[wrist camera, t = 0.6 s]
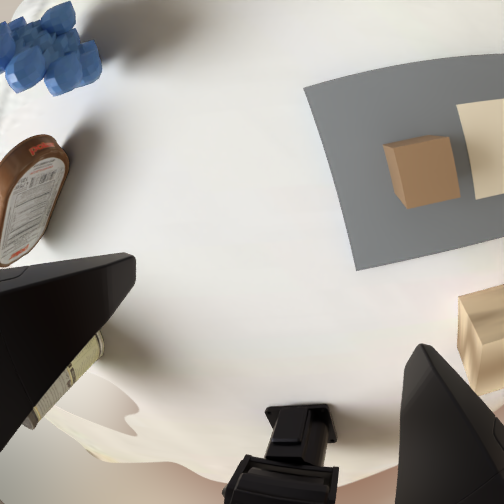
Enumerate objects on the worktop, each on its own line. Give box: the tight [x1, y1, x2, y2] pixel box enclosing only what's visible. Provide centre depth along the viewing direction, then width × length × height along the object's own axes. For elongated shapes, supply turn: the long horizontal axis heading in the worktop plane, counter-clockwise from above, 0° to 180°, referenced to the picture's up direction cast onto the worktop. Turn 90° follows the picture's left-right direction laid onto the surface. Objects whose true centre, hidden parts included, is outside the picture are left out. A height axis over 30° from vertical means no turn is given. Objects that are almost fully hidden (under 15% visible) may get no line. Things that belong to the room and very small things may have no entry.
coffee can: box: [22, 330, 104, 430], centre depth 27 cm, size 10×10×14 cm
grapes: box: [0, 1, 102, 97], centre depth 14 cm, size 12×7×12 cm, turn 50°
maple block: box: [457, 284, 504, 396], centre depth 16 cm, size 5×5×6 cm
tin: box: [0, 134, 69, 267], centre depth 23 cm, size 15×3×8 cm, turn 138°
